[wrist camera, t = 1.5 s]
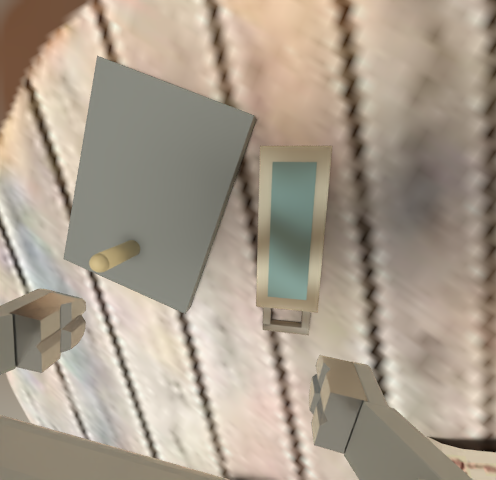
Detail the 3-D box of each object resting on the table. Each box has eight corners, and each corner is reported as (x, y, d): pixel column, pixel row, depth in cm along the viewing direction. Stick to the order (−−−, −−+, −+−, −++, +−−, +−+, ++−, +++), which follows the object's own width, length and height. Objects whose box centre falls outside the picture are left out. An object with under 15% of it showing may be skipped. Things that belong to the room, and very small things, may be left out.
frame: (266, 151, 26) (259, 145, 21) (325, 151, 25) (332, 145, 20) (261, 324, 30) (254, 354, 25) (310, 330, 29) (313, 362, 24)
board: (256, 118, 25) (240, 97, 18) (190, 307, 31) (159, 346, 24) (108, 62, 26) (38, 21, 19) (73, 255, 33) (12, 277, 26)
